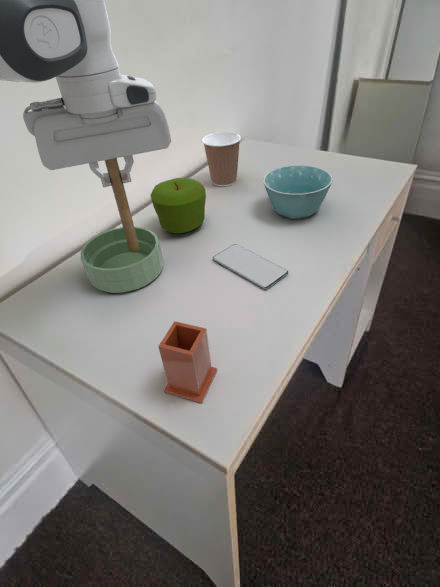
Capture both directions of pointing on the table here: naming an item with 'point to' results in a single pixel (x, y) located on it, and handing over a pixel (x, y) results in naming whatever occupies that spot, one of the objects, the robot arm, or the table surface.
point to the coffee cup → (222, 157)
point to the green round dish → (121, 260)
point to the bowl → (297, 189)
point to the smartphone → (251, 266)
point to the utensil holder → (187, 361)
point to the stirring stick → (122, 204)
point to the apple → (179, 204)
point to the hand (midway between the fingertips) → (117, 183)
